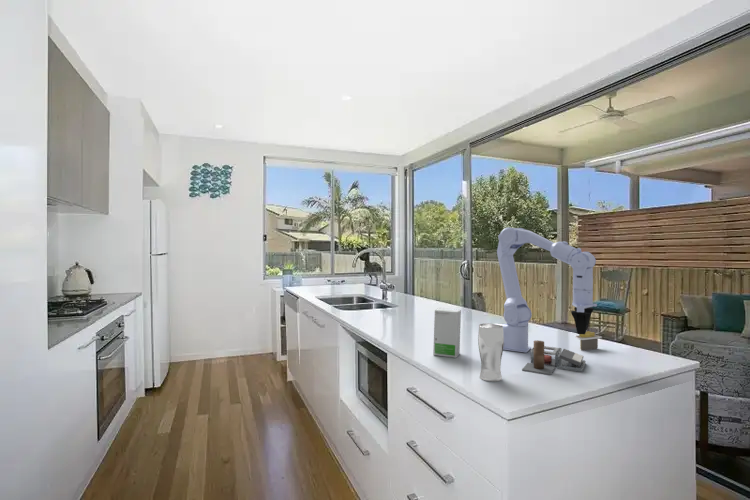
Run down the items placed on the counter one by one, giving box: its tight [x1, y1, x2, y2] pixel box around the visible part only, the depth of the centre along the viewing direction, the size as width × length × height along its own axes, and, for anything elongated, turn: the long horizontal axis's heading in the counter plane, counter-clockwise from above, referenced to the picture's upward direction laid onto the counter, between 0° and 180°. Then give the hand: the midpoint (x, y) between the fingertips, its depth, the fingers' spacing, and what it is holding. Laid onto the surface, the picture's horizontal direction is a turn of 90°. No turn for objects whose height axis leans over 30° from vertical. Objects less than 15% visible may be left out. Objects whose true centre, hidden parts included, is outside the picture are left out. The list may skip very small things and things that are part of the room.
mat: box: [521, 362, 556, 376], centre depth 122 cm, size 8×8×1 cm
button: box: [544, 354, 553, 362], centre depth 131 cm, size 3×3×2 cm
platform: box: [575, 330, 603, 351], centre depth 147 cm, size 12×18×7 cm, turn 111°
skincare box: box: [433, 307, 462, 359], centre depth 139 cm, size 8×7×16 cm
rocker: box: [559, 348, 584, 366], centre depth 126 cm, size 6×9×1 cm, turn 148°
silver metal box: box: [530, 345, 586, 373], centre depth 128 cm, size 15×10×4 cm, turn 58°
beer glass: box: [477, 322, 504, 383], centre depth 114 cm, size 7×7×15 cm
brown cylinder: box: [533, 340, 545, 369], centre depth 122 cm, size 3×3×8 cm
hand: (582, 331), depth 129 cm, fingers open, 7 cm apart
